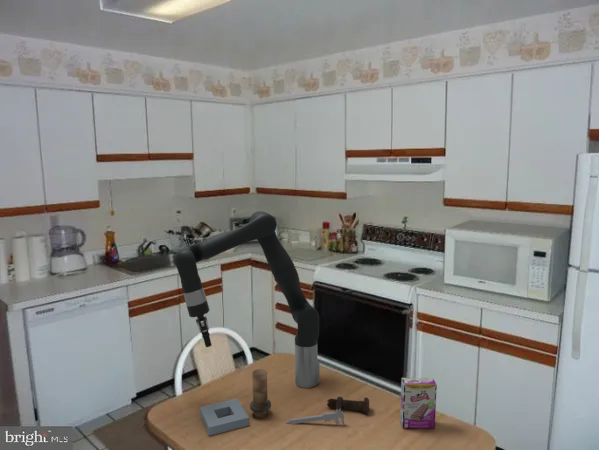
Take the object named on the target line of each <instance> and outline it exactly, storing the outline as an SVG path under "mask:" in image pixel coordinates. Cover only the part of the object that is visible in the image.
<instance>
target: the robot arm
mask: <svg viewBox="0 0 599 450" xmlns="http://www.w3.org/2000/svg"><path fill="white" fill-rule="evenodd" d="M277 225H278V224H277V220H276V219H275V217H274V216H273V215H271V214H270V213H268V212H265V211H256V212H254V213H252V214H251V216H250V217H249V221H248V223H246V224H243V225H242V226H240V227H237V228H235V229H232V230H231V229H230V230H227V231H224V232H221V233H218V234H214V235H212V236H210V237H207V238H206V239H203V240H202V241H199V242H197V243H194V244H191V245H188V246H186V247H183V248H180V249H179V250H178V251H176V253H175V254H174V263H175V266H176V269H177V272H178V276H179V277H180V284H181V287H182V291H183V292H182V293H183V295H184V302H185V305H186V309H187V313H188V315H189V317H190V318H196V319H195V323H196V325H197V327H198V330H199V333H200V334H201V337H202V339H203V341H204V342H203V343H204V345H205V348H210V347H212V346H213V345H212V341H211V338H210V335H211V334H210V332H209V330H210V328H209V321H208V318H207V316H205V315H207V314H208V313H209V312H210V306H209V303H208V300H207V299H208V298H207V296H206V293H205V289H204V287H203V283H202V280H201V277H200V275H199V270H198V266H197V263H199V262H201V261H203V260H208V259H211V258H213V257H216V256H218V255H220V254H222V253H224V252H226V251H229V250H231V249H233V248H236V247H238V246H240V245H243V244H247V243H249V242H252V241H255V240H257V242H258V243H259V245H260V247H261V249H262V251H263V254H264V257H265V259H266V262H267V264H268V266H269V269H270V272H271V273H272V276H273V278H274V280H275V282H276V283H277V287H279V290H280V291H281V293H282V294H283V296H284V297H285V300H286V302H287V305H288V307H289V311H290V313H291V314H290V315H291V316H292V317H291V318H292V319H293V321H294V322H295V323H296V324H297V334H296V335H295V336H294V370H295V371H294V375H295V378H294V380H295V381H294V382H295V385H296V386H298V387H300V388H304V389H305V388H306V389H309V388H313V387H315V386H317V385H318V384H320V380H321V379H320V373H321V372H320V361H319V359H318V339H319V336H320V314H319V312H318V310H317V309H316V308H315V307H314V306H312V305H311V304H310V302H309V301H308V300H307V298H306V296H305V295H304V293H303V290H302V287H301V283H300V281H301V280H300V276H299V273H298V271H297V268H296V267H295V264H294V262H293V260H292V258H291V256H290V255H289V253H288V252H287V250H286V249H285V248H284V246H283V245H282V243H281V242H280V240H279V238H278V236H277V234H276V229H277Z"/></svg>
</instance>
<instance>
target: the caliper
mask: <svg viewBox="0 0 599 450" xmlns="http://www.w3.org/2000/svg"><path fill="white" fill-rule="evenodd" d="M335 409H336V411H332V412H331V411H330V412H324V413H323V414H318V415H317V414H316V415H310V416H302V417H296V418H289V420H285V424H286V425H287V424H289V425H297V424H303V423H310V422H318V421H324V422H325V423H326V422H331V421H333V420H334V423H335V424H336V425H337V426H338V427H339V426H340V423H339V422H340V421H339V419H340V420H341V424H342V426H345V414H344V412H343V411H344V410H342V411H341V409H339V411H338V409H337V408H335Z"/></svg>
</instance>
